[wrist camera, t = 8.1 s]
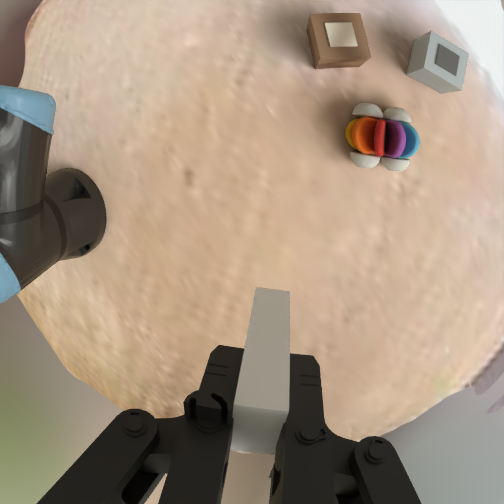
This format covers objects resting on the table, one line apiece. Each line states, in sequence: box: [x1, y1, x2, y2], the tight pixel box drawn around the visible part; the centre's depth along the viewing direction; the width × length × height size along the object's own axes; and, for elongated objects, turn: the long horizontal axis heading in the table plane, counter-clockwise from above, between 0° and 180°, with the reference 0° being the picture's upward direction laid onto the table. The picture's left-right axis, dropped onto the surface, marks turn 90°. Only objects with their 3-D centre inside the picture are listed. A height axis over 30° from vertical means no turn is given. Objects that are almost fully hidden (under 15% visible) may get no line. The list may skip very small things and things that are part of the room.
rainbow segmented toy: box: [345, 103, 420, 172], centre depth 32 cm, size 8×10×7 cm
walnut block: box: [307, 13, 371, 69], centre depth 28 cm, size 6×6×6 cm
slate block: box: [406, 31, 468, 94], centre depth 27 cm, size 6×6×6 cm
